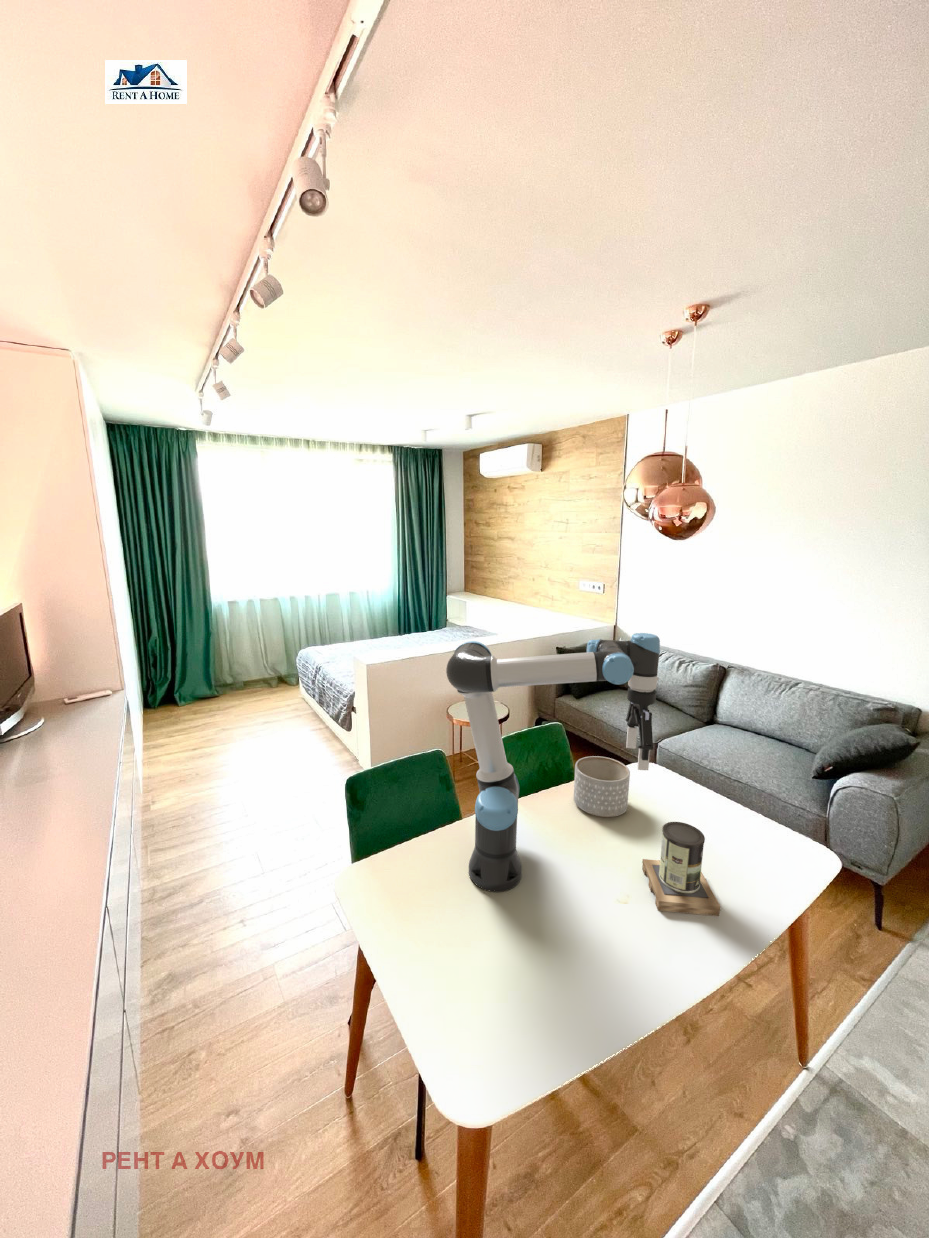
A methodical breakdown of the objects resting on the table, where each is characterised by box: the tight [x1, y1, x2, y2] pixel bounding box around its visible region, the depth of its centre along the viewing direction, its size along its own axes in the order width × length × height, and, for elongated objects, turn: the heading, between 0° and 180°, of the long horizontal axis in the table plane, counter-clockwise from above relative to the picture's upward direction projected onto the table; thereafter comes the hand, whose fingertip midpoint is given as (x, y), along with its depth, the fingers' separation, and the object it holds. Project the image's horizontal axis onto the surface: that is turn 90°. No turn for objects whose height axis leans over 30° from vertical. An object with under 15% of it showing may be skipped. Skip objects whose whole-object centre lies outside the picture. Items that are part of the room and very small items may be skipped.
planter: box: [573, 755, 631, 818], centre depth 167 cm, size 19×19×14 cm
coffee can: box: [659, 821, 706, 893], centre depth 126 cm, size 10×10×14 cm
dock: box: [641, 858, 722, 917], centre depth 127 cm, size 15×16×3 cm
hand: (636, 758), depth 135 cm, fingers open, 13 cm apart
